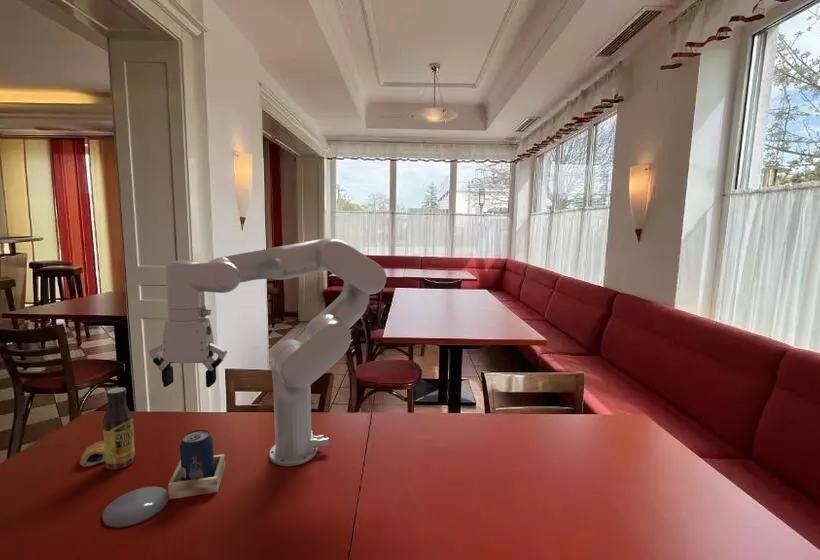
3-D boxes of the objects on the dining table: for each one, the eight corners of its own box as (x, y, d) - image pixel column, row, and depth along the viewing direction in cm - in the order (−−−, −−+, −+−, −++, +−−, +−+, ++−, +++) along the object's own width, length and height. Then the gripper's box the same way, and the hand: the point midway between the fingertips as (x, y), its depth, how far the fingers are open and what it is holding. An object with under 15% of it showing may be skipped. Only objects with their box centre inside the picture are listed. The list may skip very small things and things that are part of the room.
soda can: (205, 469, 100) (203, 425, 99) (220, 480, 96) (218, 434, 95) (177, 483, 95) (173, 437, 93) (191, 495, 91) (188, 446, 89)
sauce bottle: (119, 473, 98) (113, 397, 96) (99, 469, 100) (91, 394, 97) (142, 458, 105) (136, 386, 102) (122, 455, 106) (116, 384, 103)
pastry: (87, 450, 108) (86, 437, 108) (117, 444, 111) (116, 432, 111) (79, 469, 100) (77, 455, 99) (112, 462, 103) (111, 448, 103)
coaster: (175, 485, 94) (175, 483, 94) (158, 521, 83) (158, 518, 83) (117, 493, 91) (117, 491, 91) (91, 532, 79) (90, 529, 79)
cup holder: (225, 466, 102) (224, 454, 101) (217, 492, 92) (216, 478, 92) (181, 472, 99) (180, 459, 98) (168, 499, 89) (167, 485, 89)
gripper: (231, 311, 96) (233, 379, 98) (157, 310, 95) (160, 378, 97) (218, 318, 88) (220, 391, 90) (137, 316, 87) (141, 391, 89)
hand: (189, 384), depth 93 cm, fingers open, 9 cm apart
